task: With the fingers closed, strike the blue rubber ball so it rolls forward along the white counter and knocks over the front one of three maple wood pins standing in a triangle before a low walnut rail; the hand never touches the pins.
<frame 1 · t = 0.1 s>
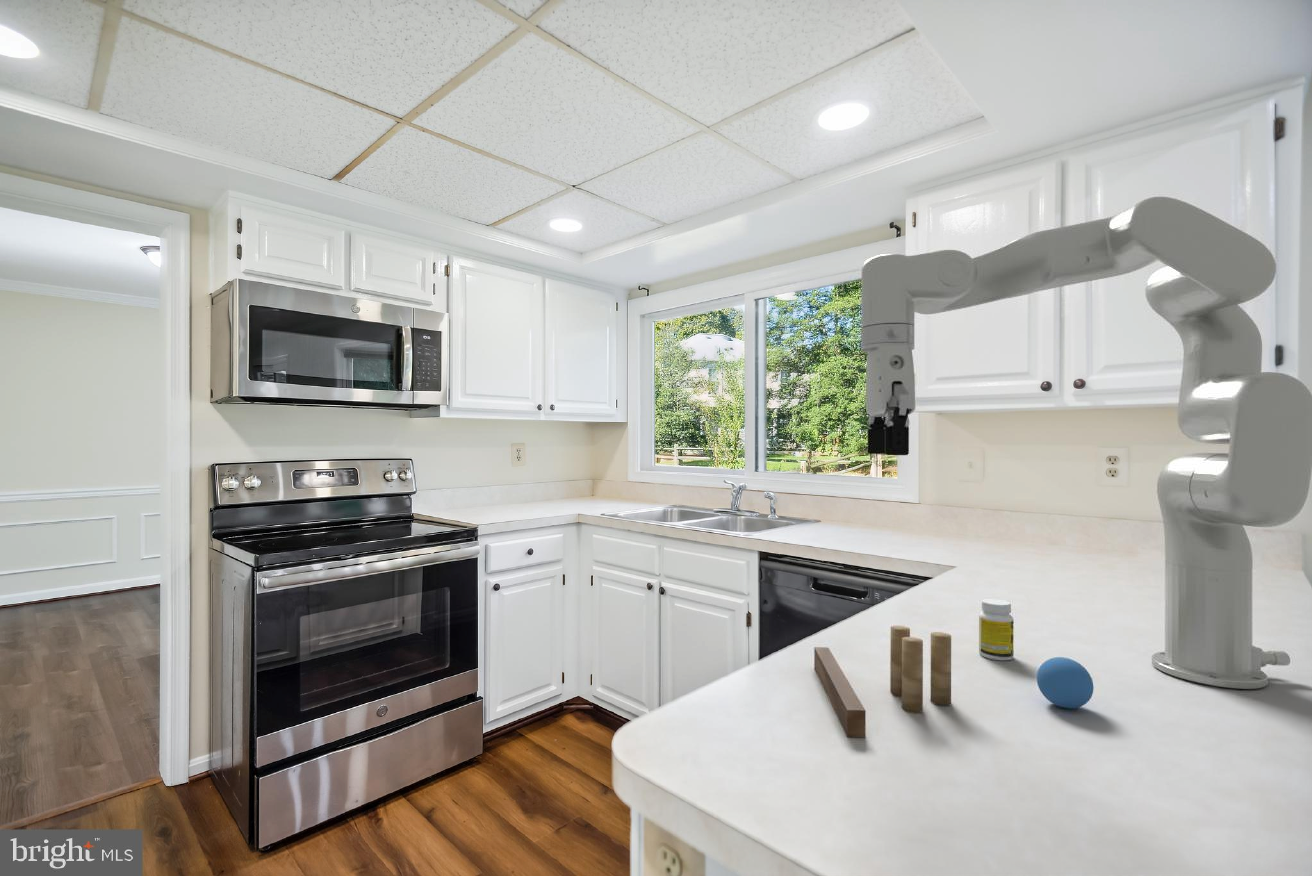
hand: (887, 454, 95), 31 cm above the worktop, tool pointing down, fingers open, 9 cm apart
back rail: (836, 697, 82), on the worktop
pin 2: (912, 708, 79), on the worktop
ball: (1064, 682, 80), on the worktop
pin 1: (900, 692, 84), on the worktop
pin front: (940, 701, 81), on the worktop
supplement bottle: (996, 657, 99), on the worktop
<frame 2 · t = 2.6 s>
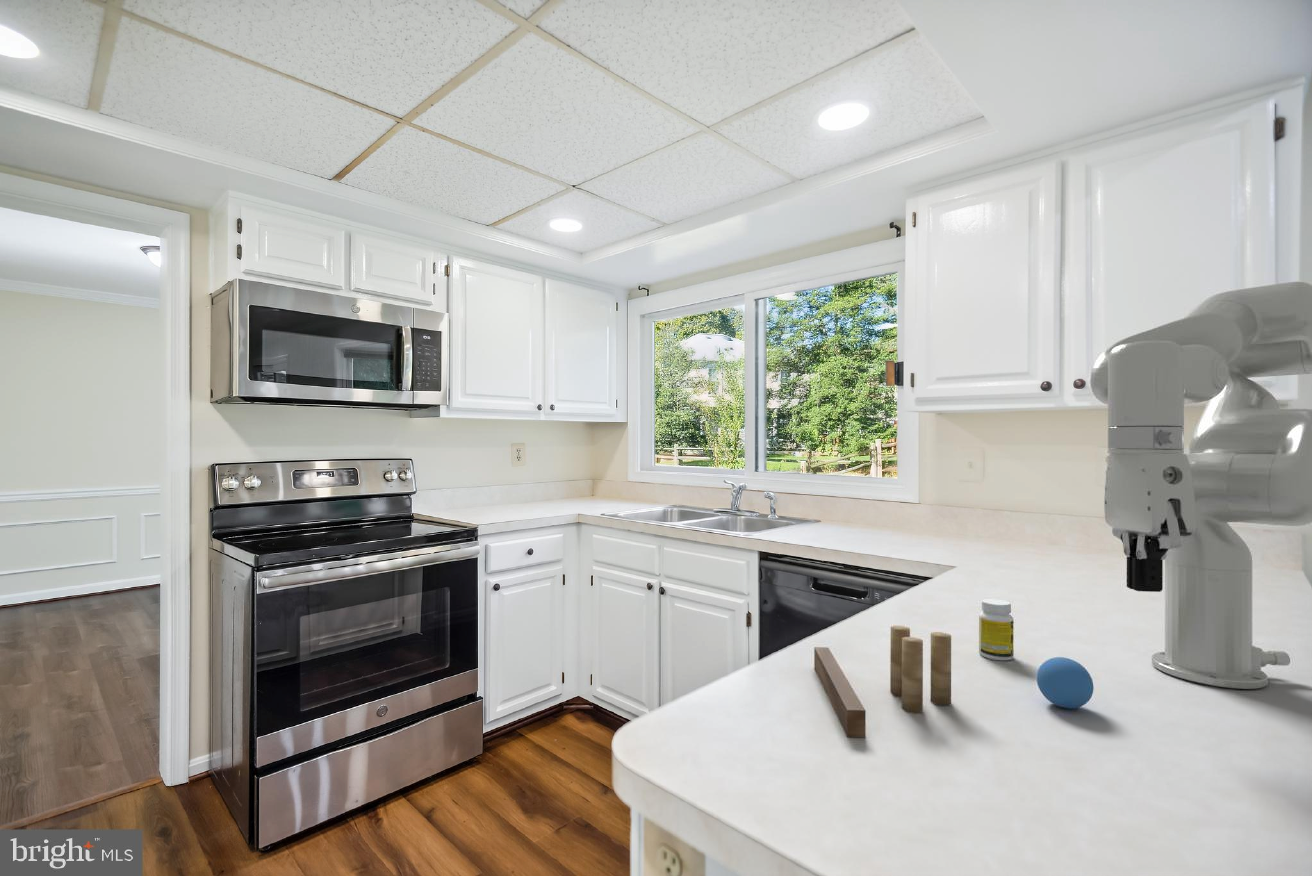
hand: (1144, 589, 79), 15 cm above the worktop, tool pointing down, fingers closed
nothing on the worktop moved.
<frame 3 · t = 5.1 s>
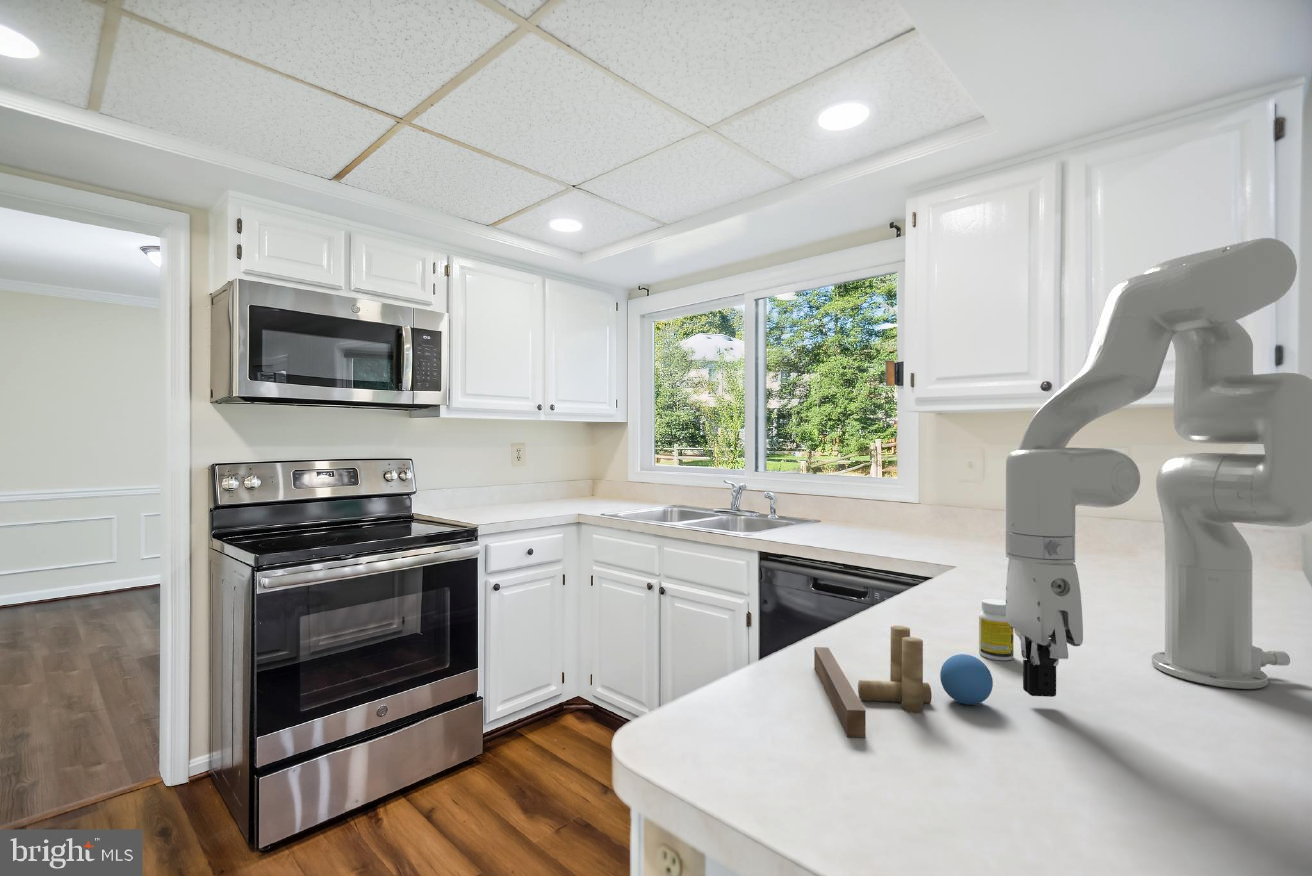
hand: (1039, 693, 80), 2 cm above the worktop, tool pointing down, fingers closed
ball: (966, 679, 81), on the worktop
pin front: (928, 692, 81), point 1 cm above the worktop, tilted 90°
everything else where it was.
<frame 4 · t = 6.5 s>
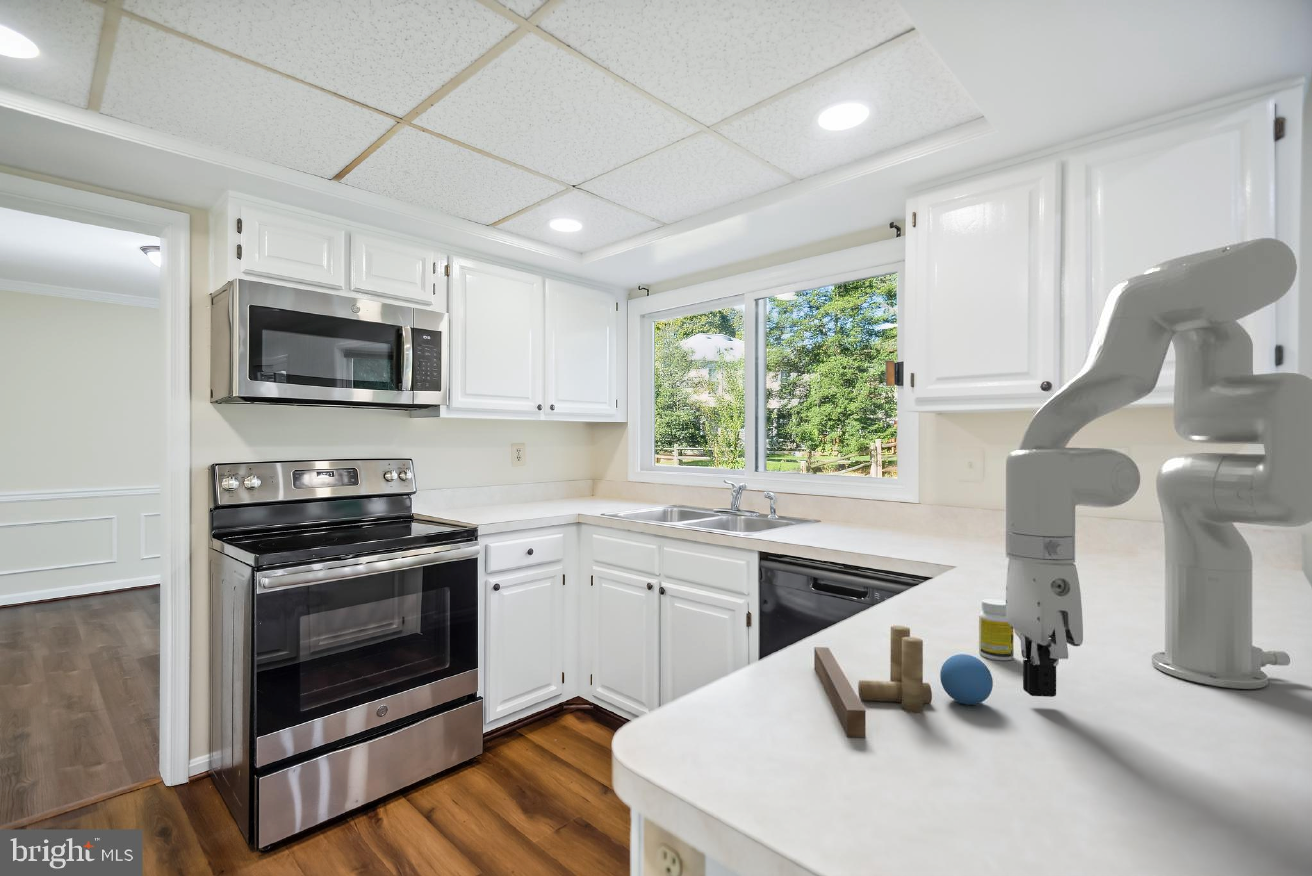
hand: (1039, 693, 80), 2 cm above the worktop, tool pointing down, fingers closed
nothing on the worktop moved.
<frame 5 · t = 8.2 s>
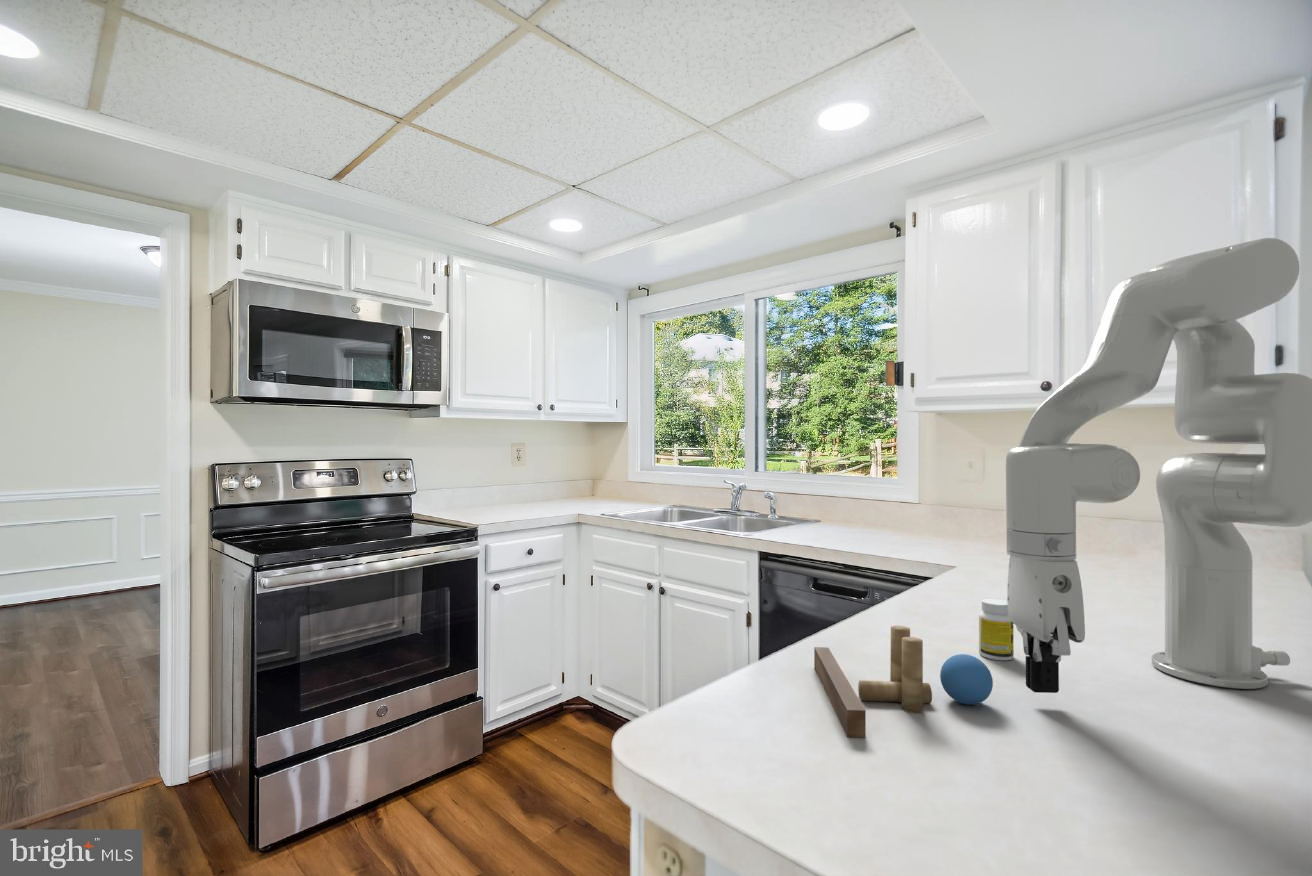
hand: (1042, 689, 80), 2 cm above the worktop, tool pointing down, fingers closed
nothing on the worktop moved.
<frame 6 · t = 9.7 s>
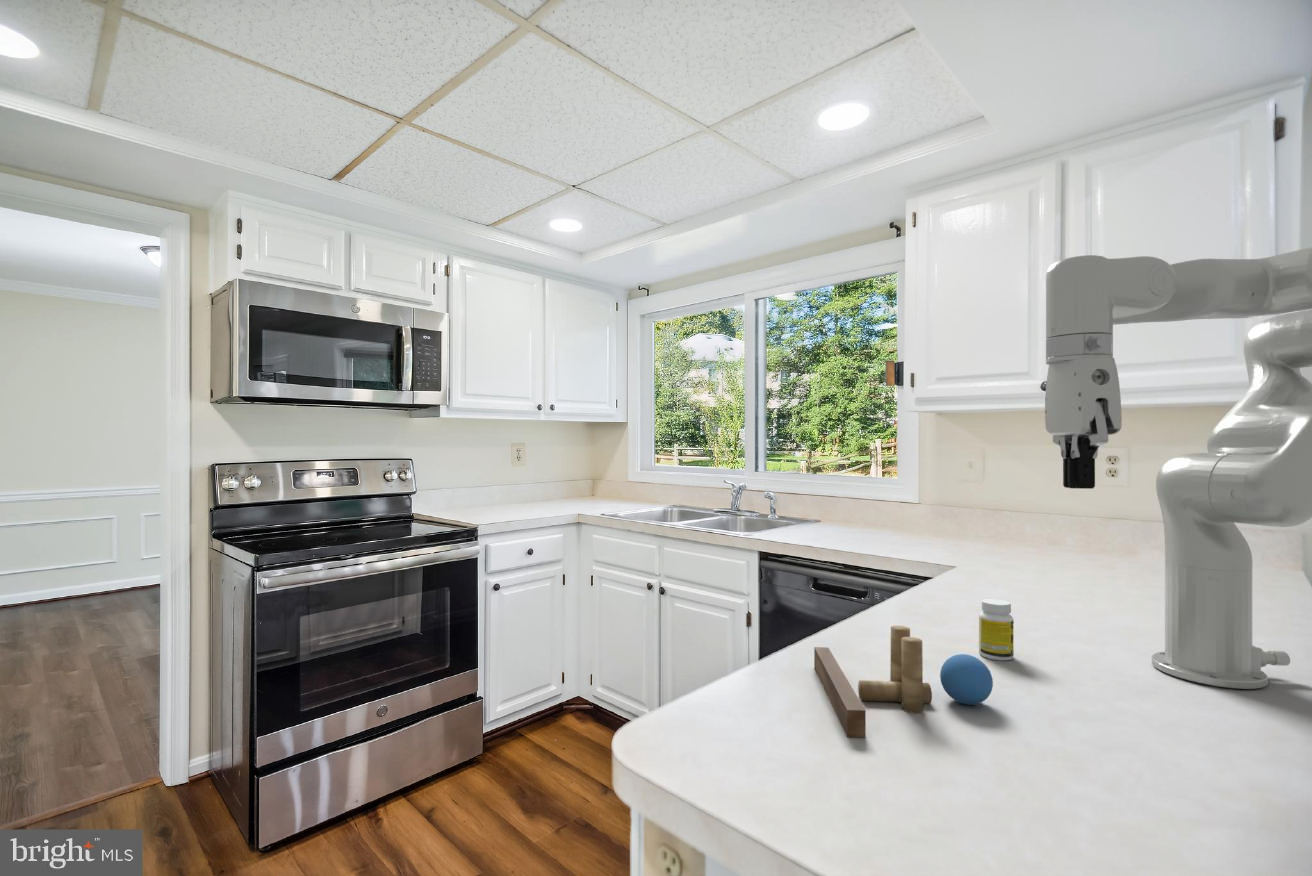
hand: (1078, 487, 86), 27 cm above the worktop, tool pointing down, fingers closed
nothing on the worktop moved.
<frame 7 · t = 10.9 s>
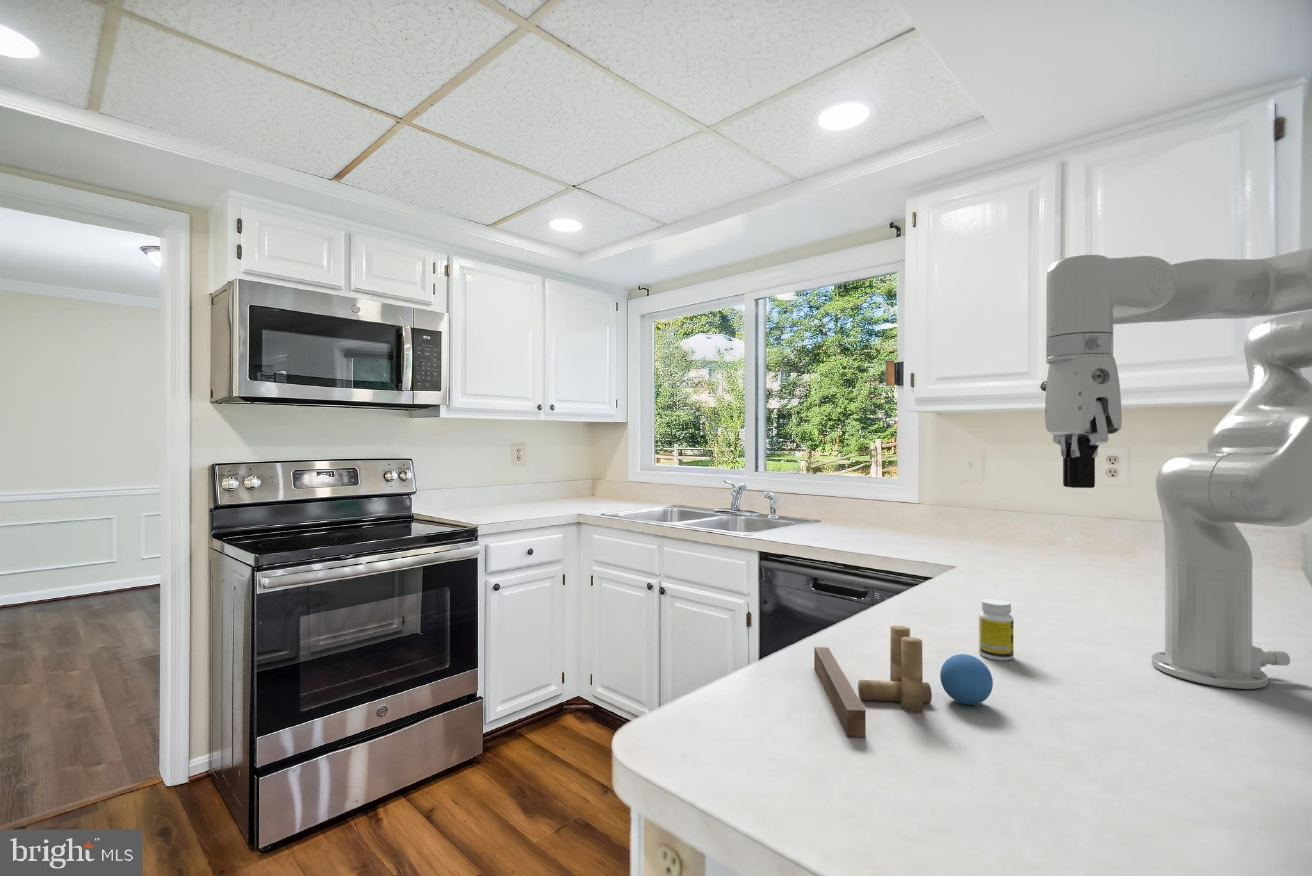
hand: (1078, 487, 86), 27 cm above the worktop, tool pointing down, fingers closed
nothing on the worktop moved.
at the end: pin front tilted 90°; pin front never touched the robot; ball moved 11.9 cm from its start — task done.
